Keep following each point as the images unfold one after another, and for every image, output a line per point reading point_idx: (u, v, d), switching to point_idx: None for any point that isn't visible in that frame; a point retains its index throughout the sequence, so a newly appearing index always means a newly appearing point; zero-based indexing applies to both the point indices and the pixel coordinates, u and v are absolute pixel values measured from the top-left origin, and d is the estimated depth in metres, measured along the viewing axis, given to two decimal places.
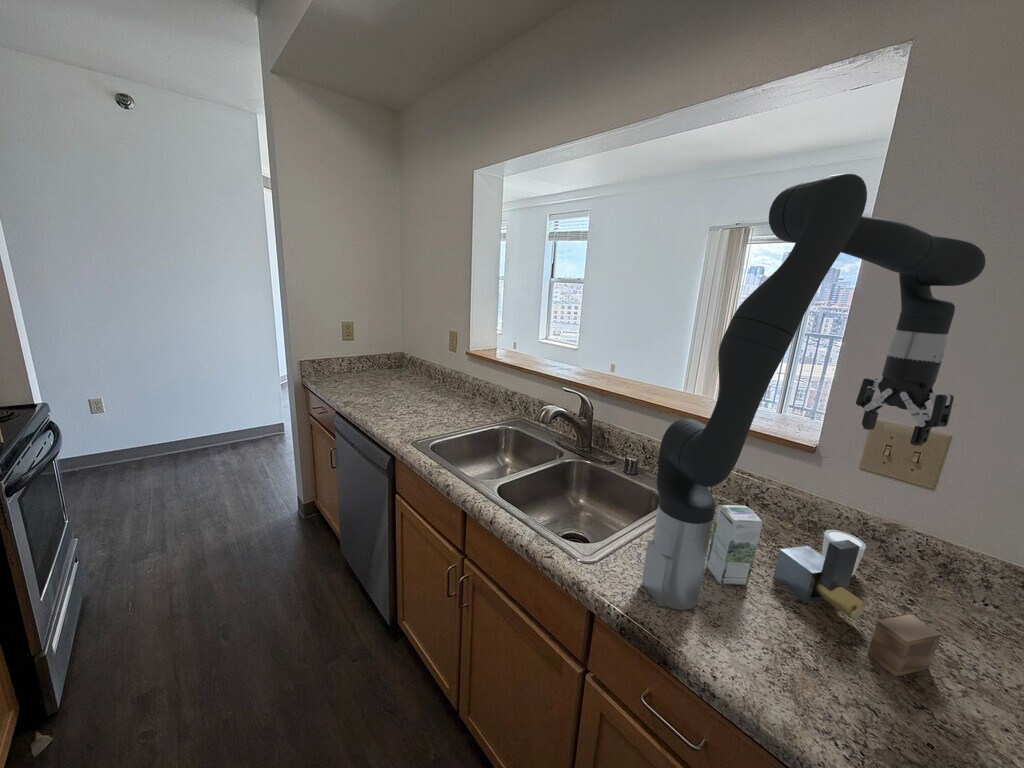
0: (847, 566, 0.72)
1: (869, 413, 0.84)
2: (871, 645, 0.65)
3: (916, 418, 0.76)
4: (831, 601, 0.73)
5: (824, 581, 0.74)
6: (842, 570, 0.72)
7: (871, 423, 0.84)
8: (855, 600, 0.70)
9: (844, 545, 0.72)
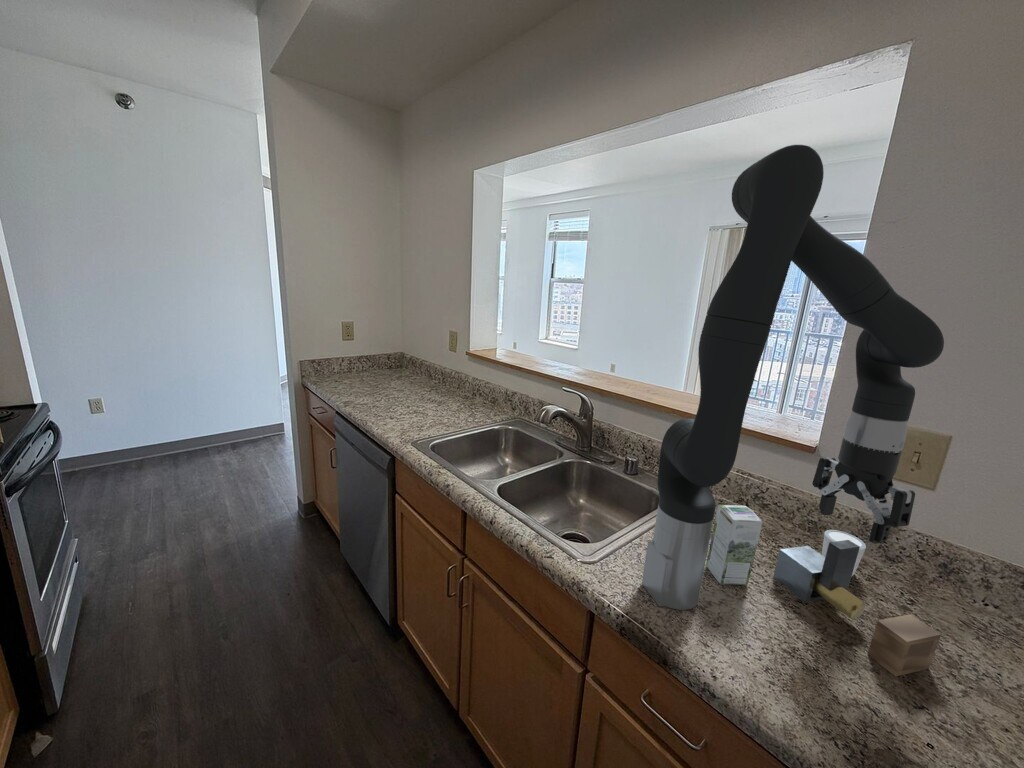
0: (847, 566, 0.72)
1: (826, 498, 0.74)
2: (871, 645, 0.65)
3: (874, 513, 0.66)
4: (831, 601, 0.73)
5: (824, 581, 0.74)
6: (842, 570, 0.72)
7: (829, 508, 0.75)
8: (855, 600, 0.70)
9: (844, 545, 0.72)
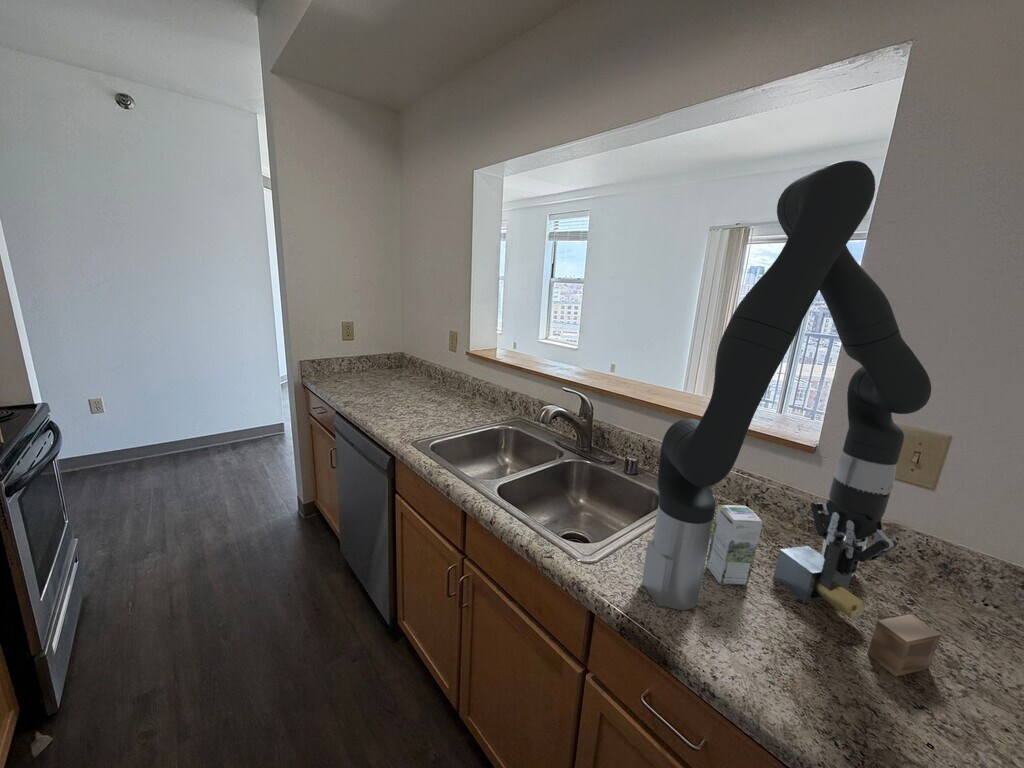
0: None
1: None
2: (871, 645, 0.65)
3: (847, 547, 0.71)
4: (831, 601, 0.73)
5: (824, 581, 0.74)
6: None
7: None
8: (855, 600, 0.70)
9: (844, 545, 0.72)
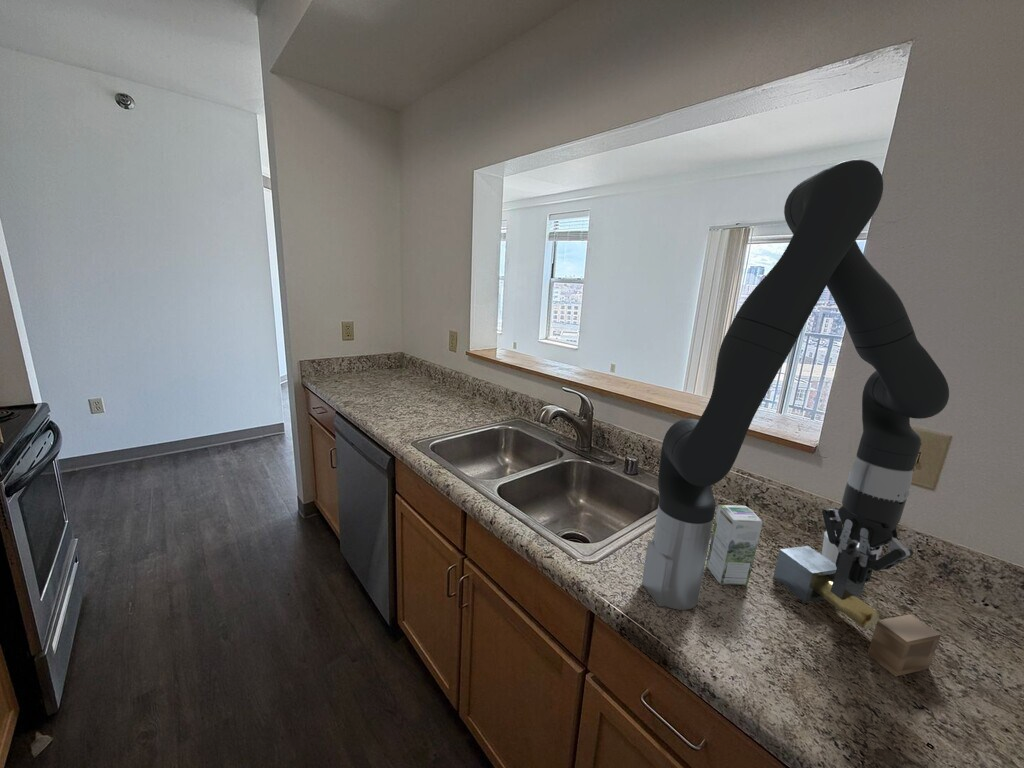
0: None
1: None
2: (871, 645, 0.65)
3: (861, 556, 0.68)
4: (843, 610, 0.71)
5: (836, 590, 0.72)
6: None
7: None
8: (869, 610, 0.68)
9: (857, 553, 0.70)
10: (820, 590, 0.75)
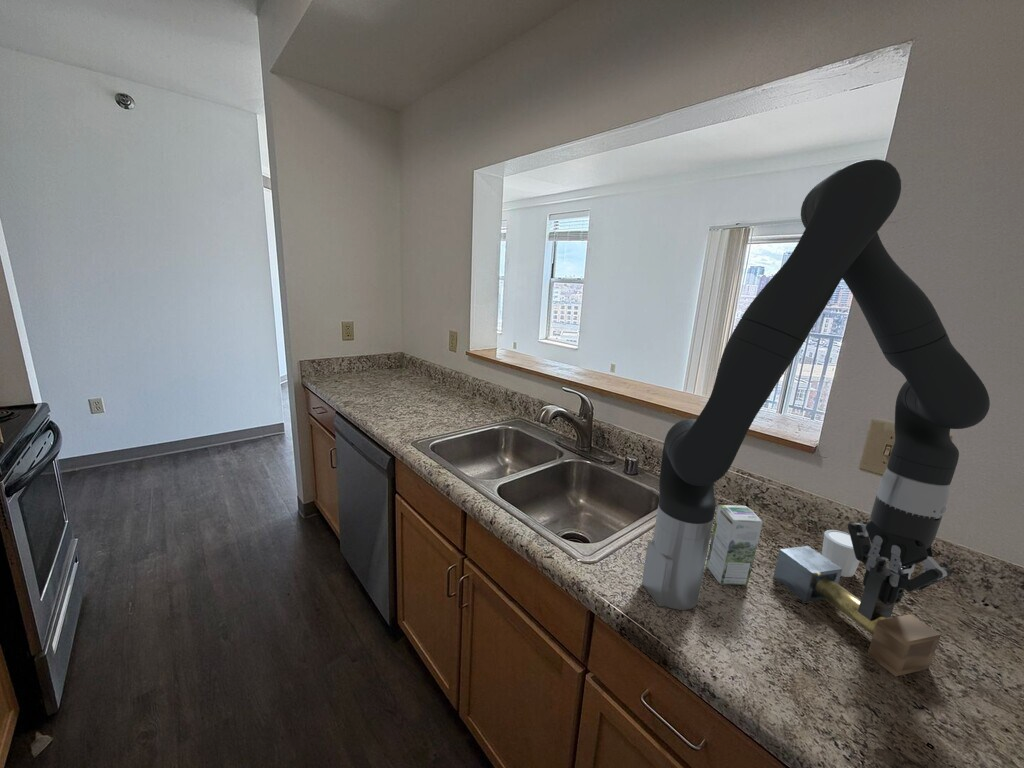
0: None
1: None
2: (871, 645, 0.65)
3: (892, 575, 0.64)
4: (872, 632, 0.66)
5: (864, 610, 0.67)
6: None
7: None
8: None
9: (887, 571, 0.66)
10: (845, 609, 0.70)
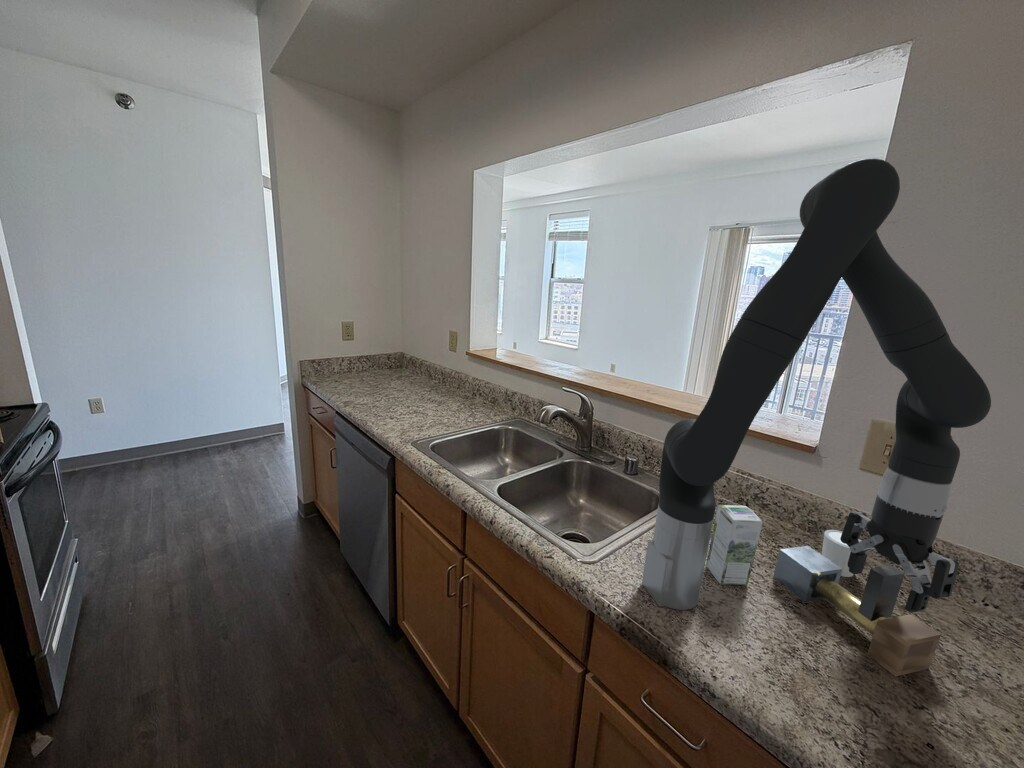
0: (890, 595, 0.66)
1: (856, 556, 0.69)
2: (871, 645, 0.65)
3: (912, 580, 0.61)
4: (873, 633, 0.66)
5: (864, 610, 0.67)
6: (885, 599, 0.66)
7: (858, 567, 0.70)
8: None
9: (887, 571, 0.66)
10: (846, 610, 0.70)
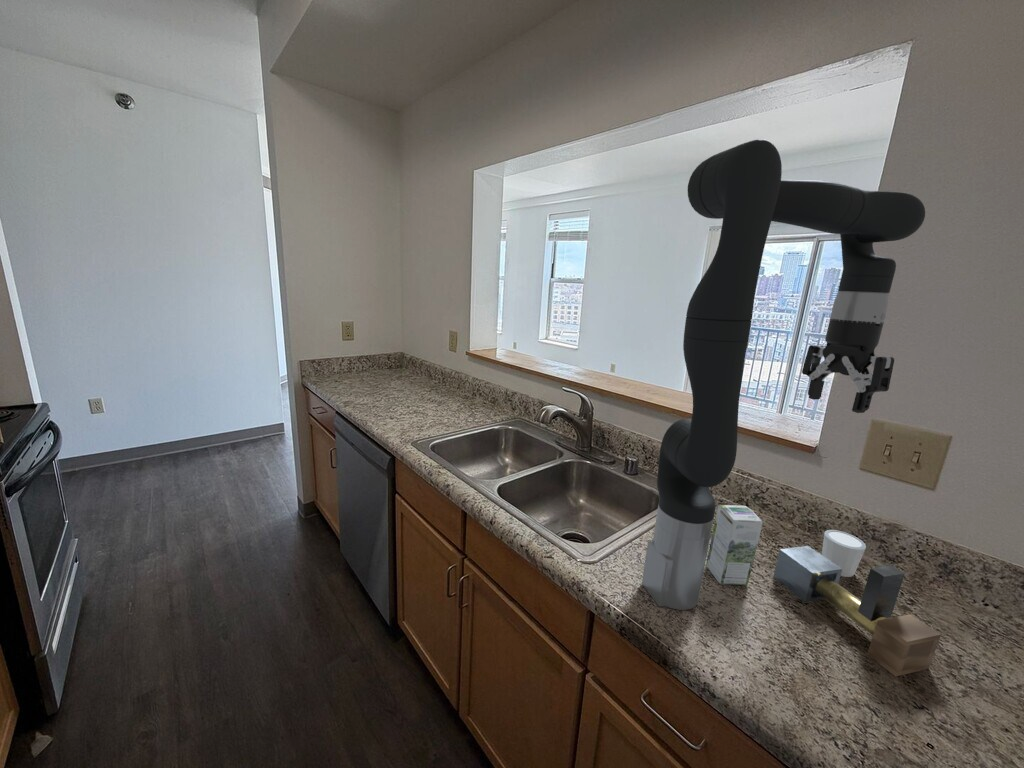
0: (890, 595, 0.66)
1: (814, 382, 0.80)
2: (871, 645, 0.65)
3: (857, 383, 0.72)
4: (873, 633, 0.66)
5: (864, 610, 0.67)
6: (885, 599, 0.66)
7: (817, 392, 0.80)
8: None
9: (887, 571, 0.66)
10: (846, 610, 0.70)
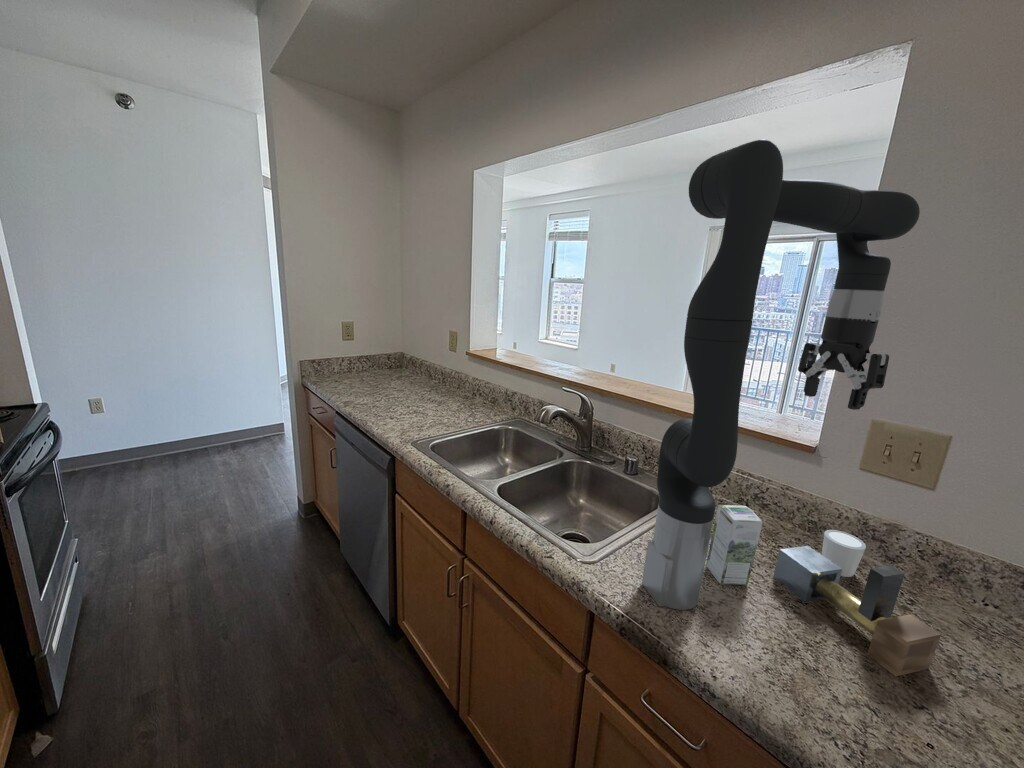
0: (890, 595, 0.66)
1: (810, 379, 0.80)
2: (871, 645, 0.65)
3: (853, 380, 0.72)
4: (873, 633, 0.66)
5: (864, 610, 0.67)
6: (885, 599, 0.66)
7: (812, 389, 0.81)
8: None
9: (887, 571, 0.66)
10: (846, 610, 0.70)
